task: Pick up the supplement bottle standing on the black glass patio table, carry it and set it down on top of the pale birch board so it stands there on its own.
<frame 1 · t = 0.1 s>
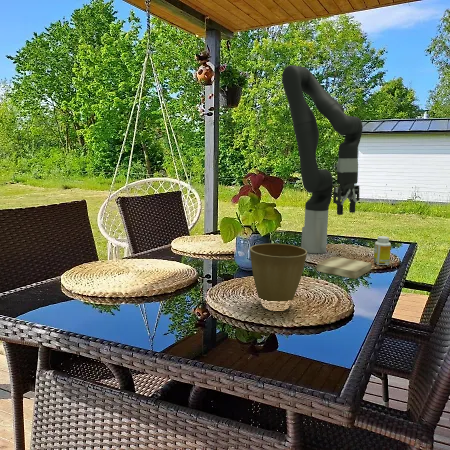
hand: (346, 213, 175), 17 cm above the table, tool pointing down, fingers open, 8 cm apart
birch board: (344, 270, 160), on the table
plant pot: (276, 307, 124), on the table
supplement bottle: (381, 264, 169), on the table
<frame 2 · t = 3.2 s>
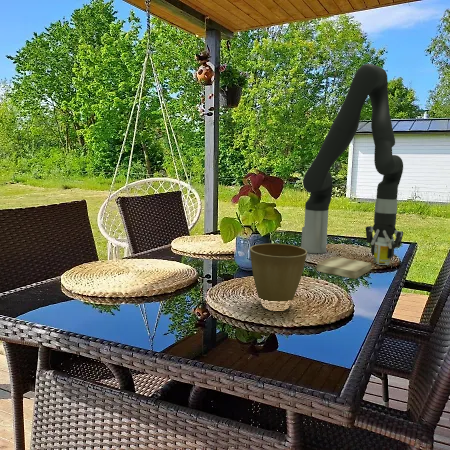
hand: (381, 256, 169), 3 cm above the table, tool pointing down, fingers closed on supplement bottle, 5 cm apart
supplement bottle: (381, 264, 169), on the table, touching gripper
everything else where it was.
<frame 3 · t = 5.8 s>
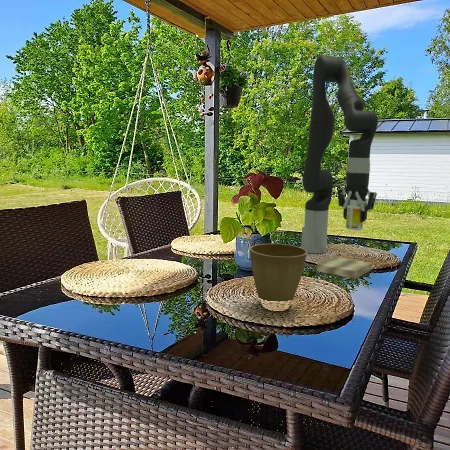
hand: (354, 220, 159), 18 cm above the table, tool pointing down, fingers closed on supplement bottle, 5 cm apart
supplement bottle: (354, 229, 159), point 14 cm above the table, touching gripper
everything else where it was.
when the fingers open (7 cm above the table, at t = 8.6 s): supplement bottle drops 1 cm, resting on birch board.
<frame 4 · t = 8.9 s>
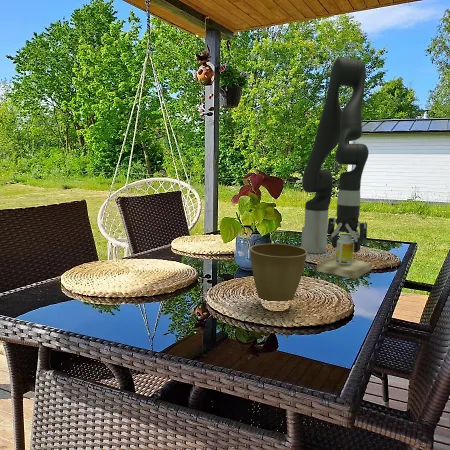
hand: (345, 249, 159), 7 cm above the table, tool pointing down, fingers open, 8 cm apart
supplement bottle: (344, 263, 160), point 2 cm above the table, touching birch board
everything else where it was.
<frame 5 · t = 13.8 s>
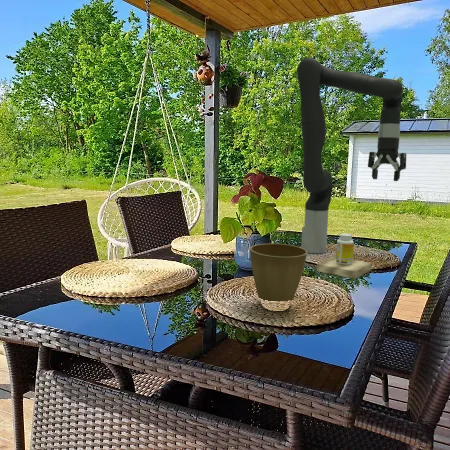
hand: (385, 180, 174), 30 cm above the table, tool pointing down, fingers open, 8 cm apart
nothing on the table moved.
at the end: supplement bottle inside the target area on the birch board (0.2 cm from its centre), point 2.3 cm above the birch board's base; supplement bottle tilted 0°; the gripper is holding nothing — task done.
